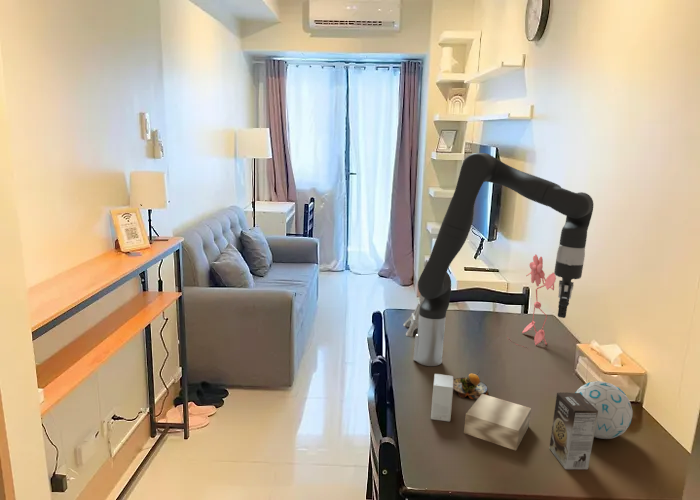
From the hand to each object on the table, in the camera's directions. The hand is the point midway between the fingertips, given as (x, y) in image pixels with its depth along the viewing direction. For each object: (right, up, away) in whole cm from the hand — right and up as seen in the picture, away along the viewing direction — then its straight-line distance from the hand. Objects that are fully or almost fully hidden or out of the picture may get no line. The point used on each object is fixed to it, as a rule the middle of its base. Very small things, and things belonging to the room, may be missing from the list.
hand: (561, 312), depth 160 cm
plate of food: (-26, -26, +9) cm, 38 cm away
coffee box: (-8, -34, -25) cm, 43 cm away
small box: (-37, -29, -6) cm, 48 cm away
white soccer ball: (+5, -32, -13) cm, 35 cm away
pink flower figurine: (+7, -17, +54) cm, 57 cm away
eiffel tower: (-35, -14, +58) cm, 69 cm away
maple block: (-23, -31, -13) cm, 41 cm away
